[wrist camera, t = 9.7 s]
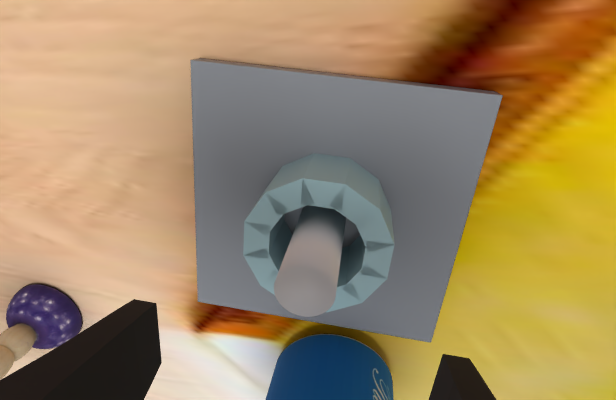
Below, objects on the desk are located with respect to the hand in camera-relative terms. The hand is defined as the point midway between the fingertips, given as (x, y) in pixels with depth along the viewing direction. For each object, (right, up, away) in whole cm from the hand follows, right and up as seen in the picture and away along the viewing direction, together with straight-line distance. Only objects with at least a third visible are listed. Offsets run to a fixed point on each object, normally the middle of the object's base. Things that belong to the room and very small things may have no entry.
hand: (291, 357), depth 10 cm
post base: (+1, +4, +9) cm, 9 cm away
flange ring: (+1, +3, +8) cm, 8 cm away
